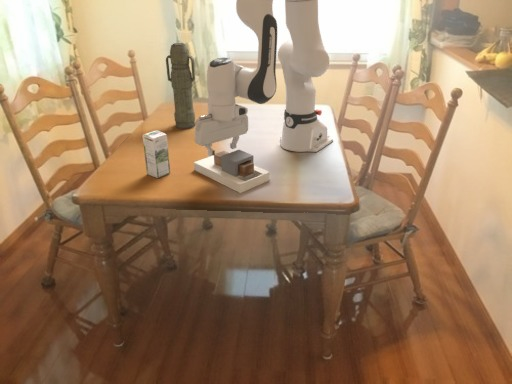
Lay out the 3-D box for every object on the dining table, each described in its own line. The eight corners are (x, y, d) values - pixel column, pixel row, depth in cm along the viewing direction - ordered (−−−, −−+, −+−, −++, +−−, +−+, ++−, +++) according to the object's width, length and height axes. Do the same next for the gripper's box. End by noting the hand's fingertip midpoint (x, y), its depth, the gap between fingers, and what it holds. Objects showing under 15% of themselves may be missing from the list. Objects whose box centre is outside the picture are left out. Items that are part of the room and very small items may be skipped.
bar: (224, 160, 148) (223, 150, 146) (253, 173, 138) (253, 163, 137) (214, 163, 145) (213, 154, 144) (243, 177, 136) (243, 167, 134)
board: (223, 159, 156) (222, 138, 152) (269, 180, 140) (269, 157, 137) (194, 170, 148) (192, 148, 144) (240, 193, 133) (239, 169, 129)
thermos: (197, 129, 186) (191, 45, 170) (170, 129, 186) (162, 45, 169) (200, 122, 194) (194, 42, 177) (174, 122, 194) (166, 42, 177)
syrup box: (160, 168, 149) (155, 129, 142) (171, 173, 146) (166, 133, 139) (146, 174, 145) (141, 134, 138) (158, 179, 142) (152, 138, 135)
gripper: (201, 120, 127) (203, 162, 134) (251, 107, 140) (250, 147, 146) (189, 115, 131) (191, 156, 138) (238, 103, 144) (238, 142, 150)
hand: (222, 151), depth 142 cm, fingers open, 8 cm apart
